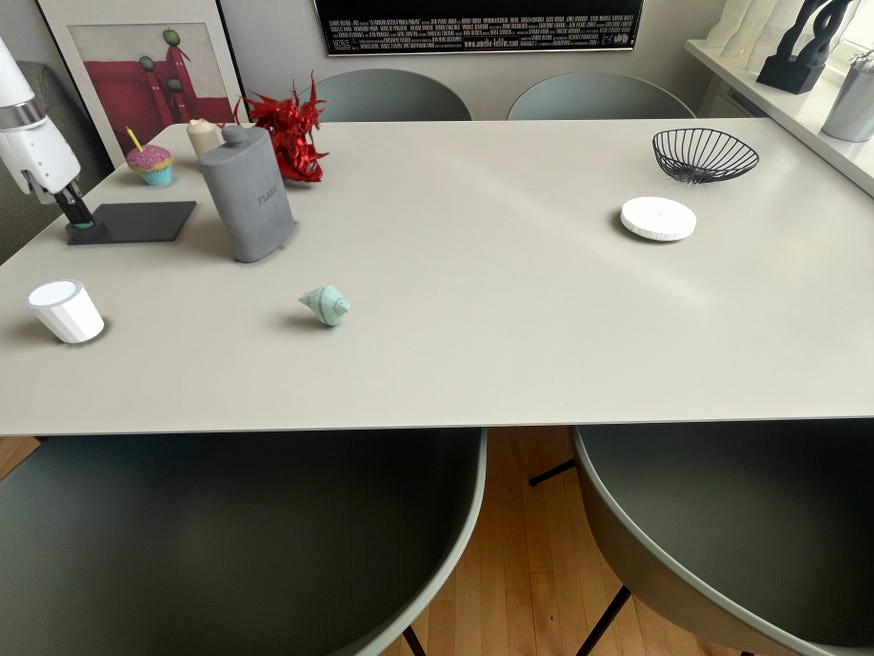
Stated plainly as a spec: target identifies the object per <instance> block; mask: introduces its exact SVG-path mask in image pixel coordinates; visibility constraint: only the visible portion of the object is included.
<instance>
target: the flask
mask: <svg viewBox="0 0 874 656" xmlns="http://www.w3.org/2000/svg"><path fill="white" fill-rule="evenodd" d="M240 125H241V124H240ZM240 125H237V124H230V125H225V127H224V128H223V129H221V130H220V133H221V137H222V139H223V141H224V143H221V145H220V146H219V147H217V148H215V149H213V150H210V151H208V152H206V153H204V154H202V155H201V156H200V157H199V158H197V159H196V162H197V164H198V167H199V170H200V171H201V172H200V173H201V174H202V178H203V179H204V183H205V185H206V187H207V190H208V191H209V194H210V197H211V199H212V202H213V204H214V206H215V209H216V211H217V213H218V217H219V219H220V221H221V224H222V226H223V228H224V231H225V233H226V236H227V238H228V240H229V243H230V246H231V248H232V251H233V253H234V255H235V258H236V259H237V261H240V262H242V263H255V262H258V261H261V260H262V259H264V258H266V257H267V256H268V255H270V254H271V253H273V252H274V251H276V249H278V248H279V247H280V246H281V245H282V244H283V243H284V242H285V241H286V240H287V239H288V238H289V236H290V235H291V233H292V232H293V230H294V229H295V227H296V224H295V221H294V216H293V213H292V210H291V206H290V203H289V199H288V196H287V192H286V189H285V185H284V181H283V178H282V177H281V174H280V170H279V167H278V163H277V160H276V156H275V153H274V149H273V146H272V142H271V139H270V135H269V132H268V130H266V129H264V128H260V127H253V126H250V127H247V128H245V127H244V126H243V125H241V126H240Z"/></svg>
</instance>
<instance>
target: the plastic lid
mask: <svg viewBox="0 0 874 656" xmlns="http://www.w3.org/2000/svg"><path fill="white" fill-rule="evenodd" d="M620 221H621V223H622V224H623V226H624V227H625V228H627V229H628V230H629V231H630V232H632V233H634V234H636V235H637V236H640V237H643V238H646V239H649V240H653V241H654V240H656V241H667V242H669V241H670V242H672V241H678V240H682V239H686V238H688V237H689V236H690V235H691V234H692V233H693V231H694V230H695V227H696V224H697V217H696V215H695V213H694V212H693V211H692V210H691V209H690V208H688V207H687V206H685V205H683V204H681V203H679V202H678V201H675V200H672V199H668V198H663V197H656V196H654V197H653V196H642V197H636V198H632V199H630V200H628V201H626V202H625V203H624V204H623V206H622V208H621V212H620Z"/></svg>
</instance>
